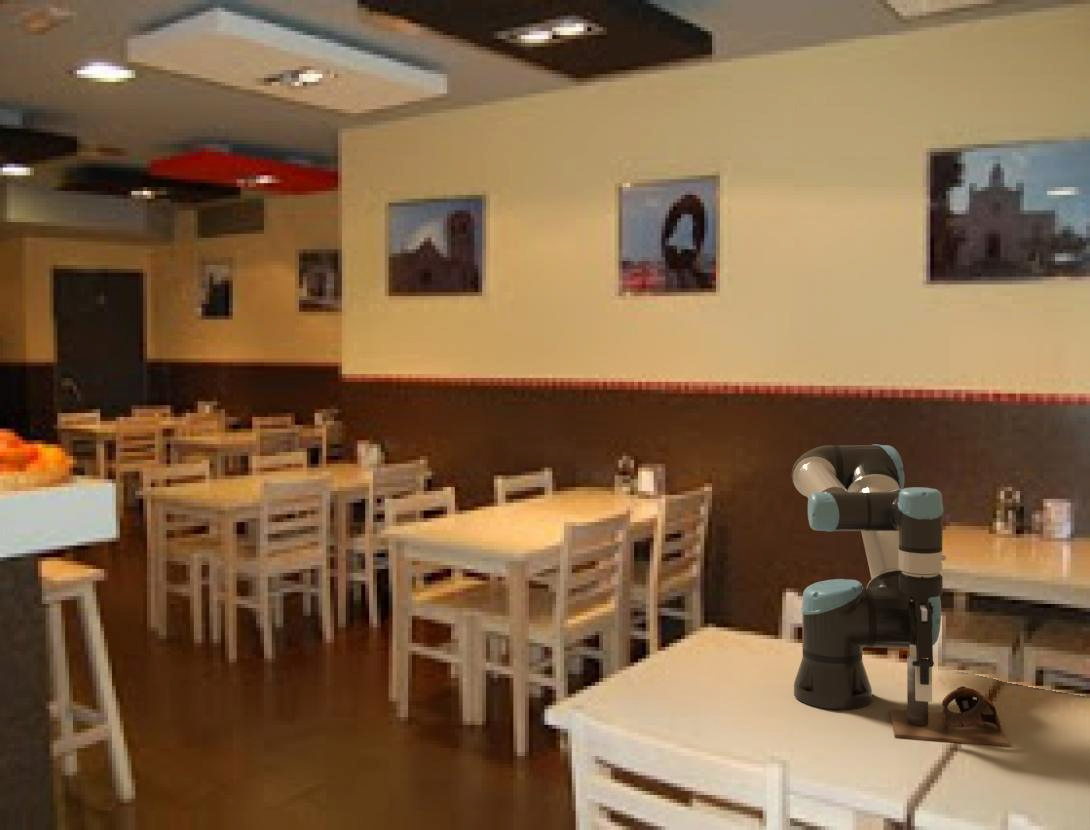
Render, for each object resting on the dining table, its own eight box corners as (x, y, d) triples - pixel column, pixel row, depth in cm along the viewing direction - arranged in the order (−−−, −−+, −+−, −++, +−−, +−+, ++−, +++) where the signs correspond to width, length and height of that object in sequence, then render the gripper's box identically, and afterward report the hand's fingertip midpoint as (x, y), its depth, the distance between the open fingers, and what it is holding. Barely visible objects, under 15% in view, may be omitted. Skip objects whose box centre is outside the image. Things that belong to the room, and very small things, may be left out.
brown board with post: (894, 737, 174) (894, 668, 174) (889, 712, 187) (889, 647, 186) (1009, 746, 169) (1010, 675, 168) (996, 719, 182) (997, 653, 181)
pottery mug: (1013, 741, 171) (995, 705, 169) (962, 761, 173) (944, 725, 171) (988, 700, 183) (971, 667, 181) (941, 720, 185) (923, 686, 183)
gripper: (950, 588, 165) (950, 714, 167) (935, 559, 188) (935, 670, 189) (904, 586, 167) (904, 710, 169) (894, 558, 190) (894, 667, 191)
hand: (920, 689), depth 179 cm, fingers open, 11 cm apart
